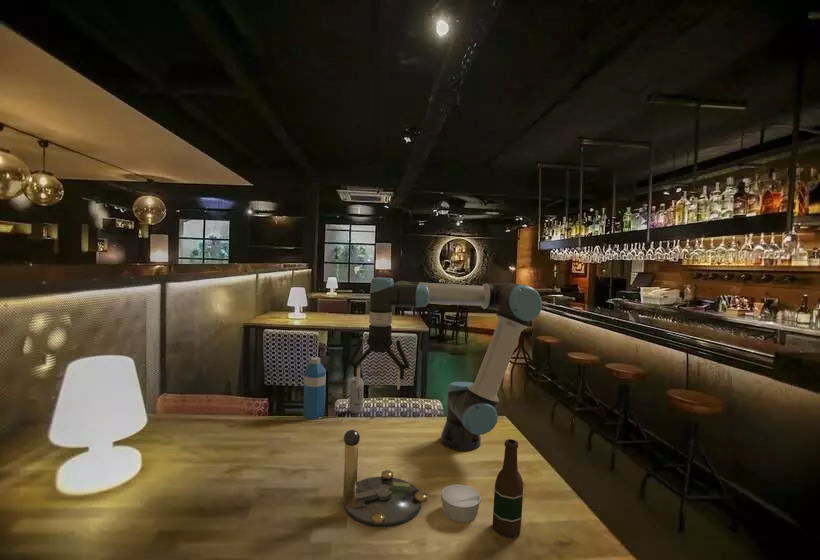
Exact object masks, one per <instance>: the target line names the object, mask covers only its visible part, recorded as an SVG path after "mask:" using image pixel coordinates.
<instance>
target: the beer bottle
mask: <svg viewBox="0 0 820 560" xmlns="http://www.w3.org/2000/svg"><path fill="white" fill-rule="evenodd" d="M504 446H505V447H504V456H503V463H502V469H501V470H500V471H499V472H498V473H497V476H496V479H495V483H494V492H493V511H492V530H493V531H494V532H495V533H497V534H498V535H499V536H501V537H504V538H508V539H509V538H510V539H512V538H515V537H516V538H517V537H518V536H520V534H521V529H522V528H521V527H522V518H523V517H522V515H523V501H524V480H523V477H522V475H521V474H520V472H519V469H518V448H519V442H518V441H517V440H515V439H512V438H510V439H505V441H504Z"/></svg>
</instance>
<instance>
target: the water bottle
mask: <svg viewBox="0 0 820 560" xmlns="http://www.w3.org/2000/svg"><path fill="white" fill-rule="evenodd" d="M326 377H327V370H326V368H325V367H324V366H323V364H322V363H321V357H316V356H315V357H311V358H310V363H309V365H308V366H307V367H306V369H305V371H304V372H303V407H302V408H303V410H302V411H303V413H302V414H303V418H305V419H307V420H318V419H320V418H319V417H322V418H324V417H325V414H326V385H327V384H326V381H327V380H326V379H327V378H326Z"/></svg>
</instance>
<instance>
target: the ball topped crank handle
mask: <svg viewBox="0 0 820 560" xmlns="http://www.w3.org/2000/svg"><path fill="white" fill-rule="evenodd" d="M360 437H361V436H360V433H359V432H358V431H357V430H356V429H349V430H347V431H346V432H345V433H344V436H343V442H344V461H343V462H344V466H343V467H344V469H343V497H342V499H343V500H342V501H343V502H342V503H343V505H344V504H345V505H348V506H351V505H354V504H355V503H358V502H363V501H367V500H371V499H375V498H376V499H377V500H380V501H386V500H389V499H390V498H391V497H392V488H391V487H390V486H389V485H385V484H382V485H378V486H376V487H375V490H370V491H366V492H362V493H357V482H358V466H359V464H358V462H359V459H358V457H359V442H360V439H361V438H360Z"/></svg>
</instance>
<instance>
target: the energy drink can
mask: <svg viewBox="0 0 820 560" xmlns="http://www.w3.org/2000/svg"><path fill="white" fill-rule="evenodd" d="M356 379H357V377H354V376H353V377H352V378H351V380H350V382H349V400H348V401H349V404H348V405H349V409H348V410H349V411H350V413H351V414H354V415H356V414H357V415H359V414H361V413H362V412H363V410H364V384H365V383H364V381H363V378H362V377H360V386H359V387H356Z"/></svg>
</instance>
